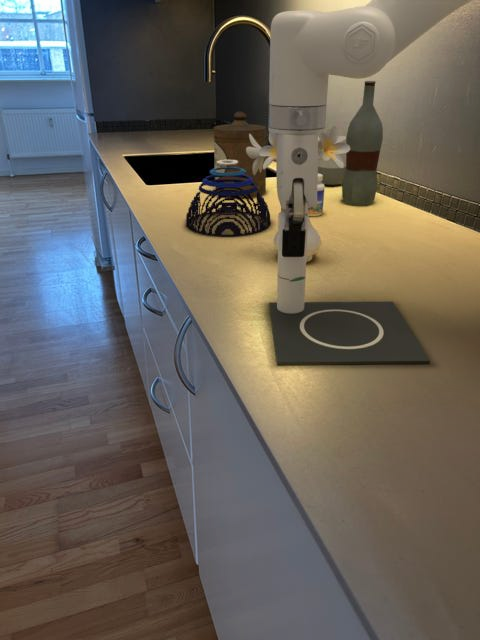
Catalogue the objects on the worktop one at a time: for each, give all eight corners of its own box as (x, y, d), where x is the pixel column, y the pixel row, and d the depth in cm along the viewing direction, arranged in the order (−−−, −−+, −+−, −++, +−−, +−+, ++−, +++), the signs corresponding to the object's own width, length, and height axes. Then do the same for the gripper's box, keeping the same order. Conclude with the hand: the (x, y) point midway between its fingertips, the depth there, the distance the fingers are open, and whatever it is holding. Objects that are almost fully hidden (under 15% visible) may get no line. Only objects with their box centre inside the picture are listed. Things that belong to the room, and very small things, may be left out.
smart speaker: (311, 181, 162) (313, 135, 156) (338, 180, 164) (342, 134, 157) (320, 188, 154) (324, 139, 148) (349, 186, 156) (354, 138, 149)
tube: (274, 311, 79) (275, 217, 72) (280, 300, 83) (282, 209, 76) (301, 314, 78) (305, 219, 71) (306, 303, 82) (310, 211, 75)
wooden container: (217, 186, 157) (215, 109, 147) (265, 186, 156) (266, 109, 146) (213, 198, 144) (210, 114, 134) (265, 198, 143) (267, 114, 133)
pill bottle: (302, 216, 127) (304, 177, 123) (299, 210, 132) (301, 172, 128) (324, 216, 127) (327, 176, 123) (320, 210, 132) (323, 172, 128)
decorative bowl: (273, 236, 114) (275, 170, 107) (183, 236, 114) (179, 170, 107) (268, 211, 131) (269, 153, 125) (190, 212, 131) (187, 154, 125)
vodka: (356, 196, 145) (368, 79, 131) (382, 202, 139) (397, 81, 125) (333, 201, 140) (343, 81, 126) (359, 208, 134) (372, 82, 120)
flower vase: (250, 246, 108) (250, 120, 97) (338, 249, 106) (350, 120, 94) (242, 268, 97) (242, 129, 85) (341, 273, 94) (354, 130, 83)
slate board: (392, 304, 83) (392, 300, 82) (429, 363, 67) (430, 359, 66) (268, 305, 83) (269, 301, 82) (276, 365, 67) (277, 360, 66)
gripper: (336, 127, 60) (325, 271, 69) (316, 112, 75) (308, 232, 84) (272, 127, 60) (269, 271, 69) (265, 113, 75) (263, 232, 84)
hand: (291, 248), depth 76 cm, fingers open, 4 cm apart
